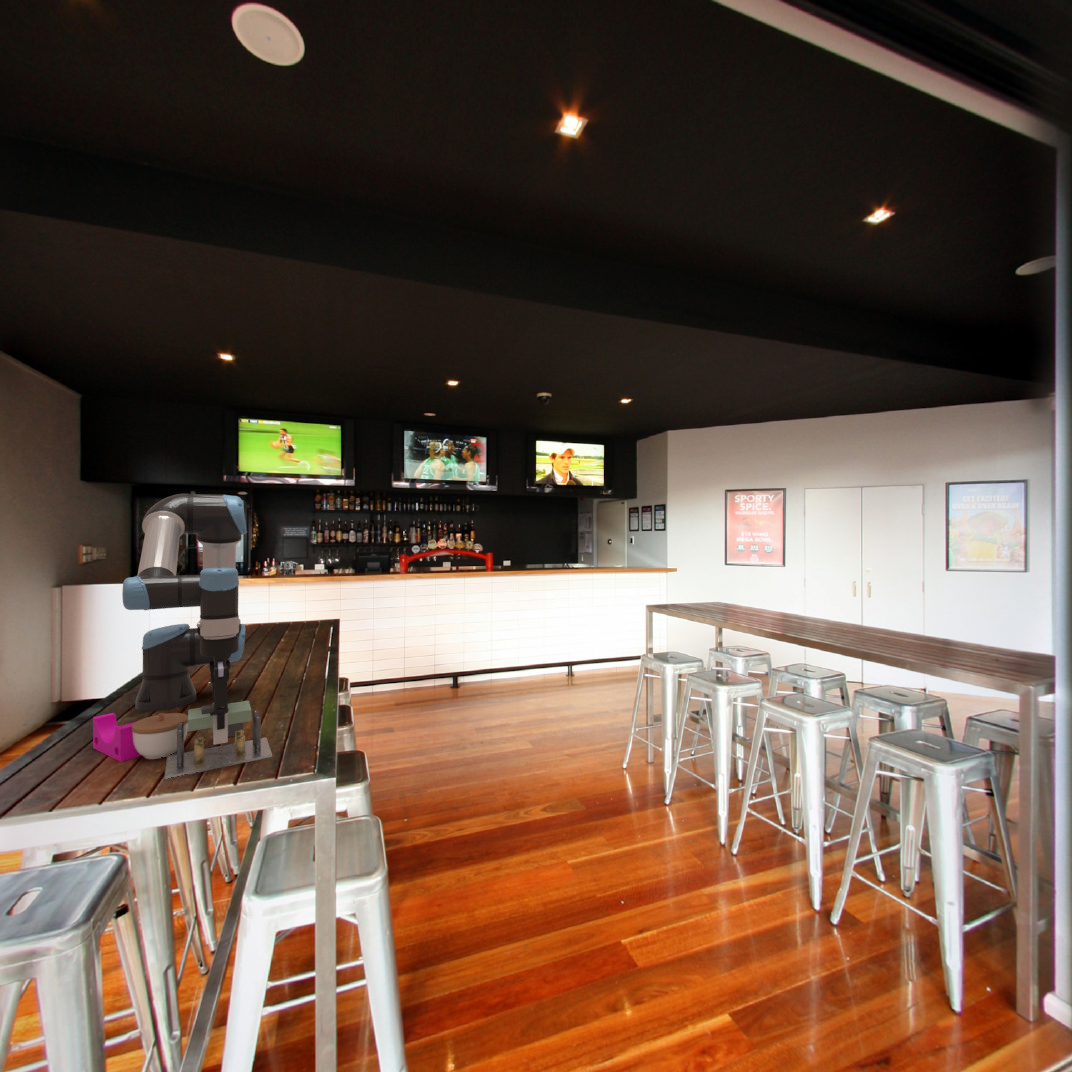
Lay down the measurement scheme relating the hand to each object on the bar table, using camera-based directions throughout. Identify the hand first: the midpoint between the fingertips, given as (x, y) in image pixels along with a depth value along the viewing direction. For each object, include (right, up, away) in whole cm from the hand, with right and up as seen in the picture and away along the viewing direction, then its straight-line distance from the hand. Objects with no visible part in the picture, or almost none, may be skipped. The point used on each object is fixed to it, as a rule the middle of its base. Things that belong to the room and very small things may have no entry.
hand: (219, 736), depth 119 cm
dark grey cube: (-6, -5, +15) cm, 17 cm away
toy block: (-26, -6, +5) cm, 27 cm away
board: (0, +4, 0) cm, 4 cm away
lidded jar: (-15, -5, +3) cm, 17 cm away
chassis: (0, -5, 0) cm, 5 cm away
